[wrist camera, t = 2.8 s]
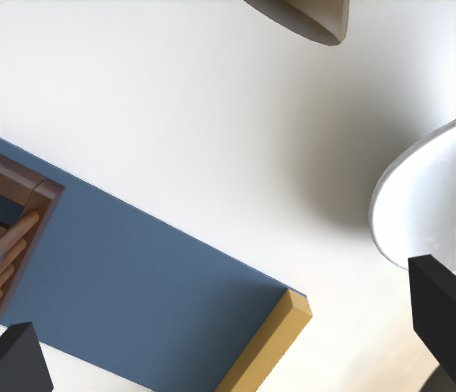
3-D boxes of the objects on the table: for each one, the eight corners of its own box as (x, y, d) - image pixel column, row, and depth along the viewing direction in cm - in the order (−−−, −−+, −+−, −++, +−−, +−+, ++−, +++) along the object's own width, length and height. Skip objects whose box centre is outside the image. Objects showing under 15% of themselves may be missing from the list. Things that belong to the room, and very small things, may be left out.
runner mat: (-129, 266, 37) (-131, 267, 37) (-70, 101, 33) (-73, 102, 32) (217, 415, 44) (217, 418, 43) (306, 295, 39) (307, 297, 39)
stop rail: (199, 410, 43) (198, 434, 40) (288, 287, 38) (293, 306, 36) (217, 418, 43) (217, 442, 41) (307, 297, 39) (313, 316, 36)
